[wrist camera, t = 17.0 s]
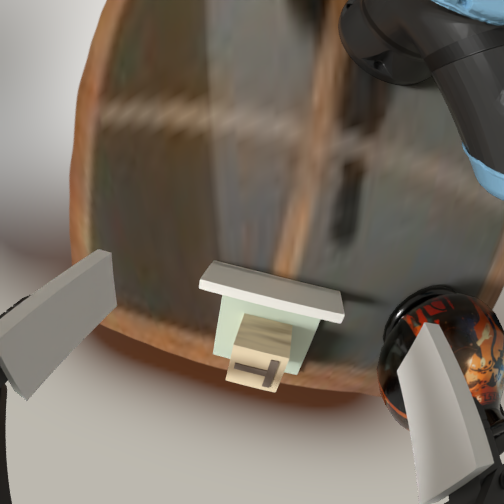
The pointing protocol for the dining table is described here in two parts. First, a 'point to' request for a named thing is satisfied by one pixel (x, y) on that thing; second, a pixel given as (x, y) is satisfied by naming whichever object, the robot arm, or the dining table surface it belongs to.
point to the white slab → (273, 291)
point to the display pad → (236, 308)
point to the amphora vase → (461, 342)
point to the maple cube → (260, 353)
